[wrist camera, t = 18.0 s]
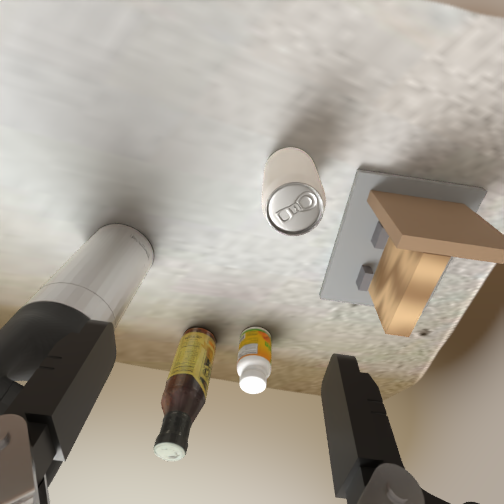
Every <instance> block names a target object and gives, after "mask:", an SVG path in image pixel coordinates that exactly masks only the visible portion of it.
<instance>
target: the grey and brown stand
mask: <svg viewBox="0 0 504 504" xmlns="http://www.w3.org/2000/svg"><path fill="white" fill-rule="evenodd" d="M486 193H487V190H485V189H483V188H481V187H474V186H467V185H461V184H454V183H447V182H441V181H434V180H427V179H421V178H414V177H407V176H401V175H394V174H387V173H381V172H374V171H367V170H361V169H357V172H356V175H355V179H354V182H353V185H352V188H351V192H350V195H349V198H348V202H347V205H346V208H345V211H344V215H343V218H342V221H341V225H340V228H339V231H338V235H337V238H336V241H335V244H334V248H333V251H332V254H331V258H330V261H329V264H328V267H327V271H326V274H325V277H324V281H323V284H322V287H321V290H320V294H319V295H320V299H324V300H331V301H338V302H346V303H353V304H360V305H367V306H374V304H373V301H372V299H371V296H370V294H369V291H368V289H369V286H370V284H371V281H372V279H373V276H374V274H375V271H376V268H377V266H378V263H379V261H380V258H381V256H382V253H383V251H384V248H385V246H386V243H387V241H388V238H389V237H390V238H391V240H392V242H393V243H394V245H395V246H396V248H397V249H404V250H411V251H418V252H425V253H432V254H439V255H446V256H451V258H450V260H449V262H448V264H447V265H446V267H445V269H444V271H443V273H442V275H441V277H440V279H439V281H438V283H437V285H438V284H439V282H440V280H441V278H442V276H443V274H444V272H445V270H446V268H447V267H448V265H449V263H450V261H451V259H452V257H460V258H467V259H474V260H480V261H487V262H494V263H501V264H504V235H503V234H502V233H501V232H499V231H498V230H497V229H495V228H494V227H493V226H492V225H490V224H489V223H488V222H487V221H485V220H484V219H483V218H482V217H480V216H479V215H478V214H476V212H477V210H478V208H479V206H480V204H481V202H482V200H483V199H484V197H485V195H486ZM437 285H436V286H435V288H434V290H433V292H432V294H431V296H430V298H429V300H428V302H429V301H430V299H431V297H432V295H433V293H434V291H435V289H436V287H437ZM428 302H427V304H428ZM427 304H426V305H425V307H424V309H423V311H422V313H423V312H424V310H425V308H426V306H427ZM374 307H375V306H374Z"/></svg>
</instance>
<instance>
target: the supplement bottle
mask: <svg viewBox="0 0 504 504" xmlns="http://www.w3.org/2000/svg"><path fill="white" fill-rule="evenodd" d="M237 372H238V374H239V376H240V387H241V389H242V390H243V391H245V392H247V393H252V394H257V393H260V392H262V391H264V390H265V388H266V382H267V378H268V377H269V375H270V373H271V335H270V333H269V332H268V331H267V330H265V329H263V328H261V327H250V328H247V329H246V330H244V331H243V332H242V334H241V336H240V343H239V352H238V361H237Z"/></svg>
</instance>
